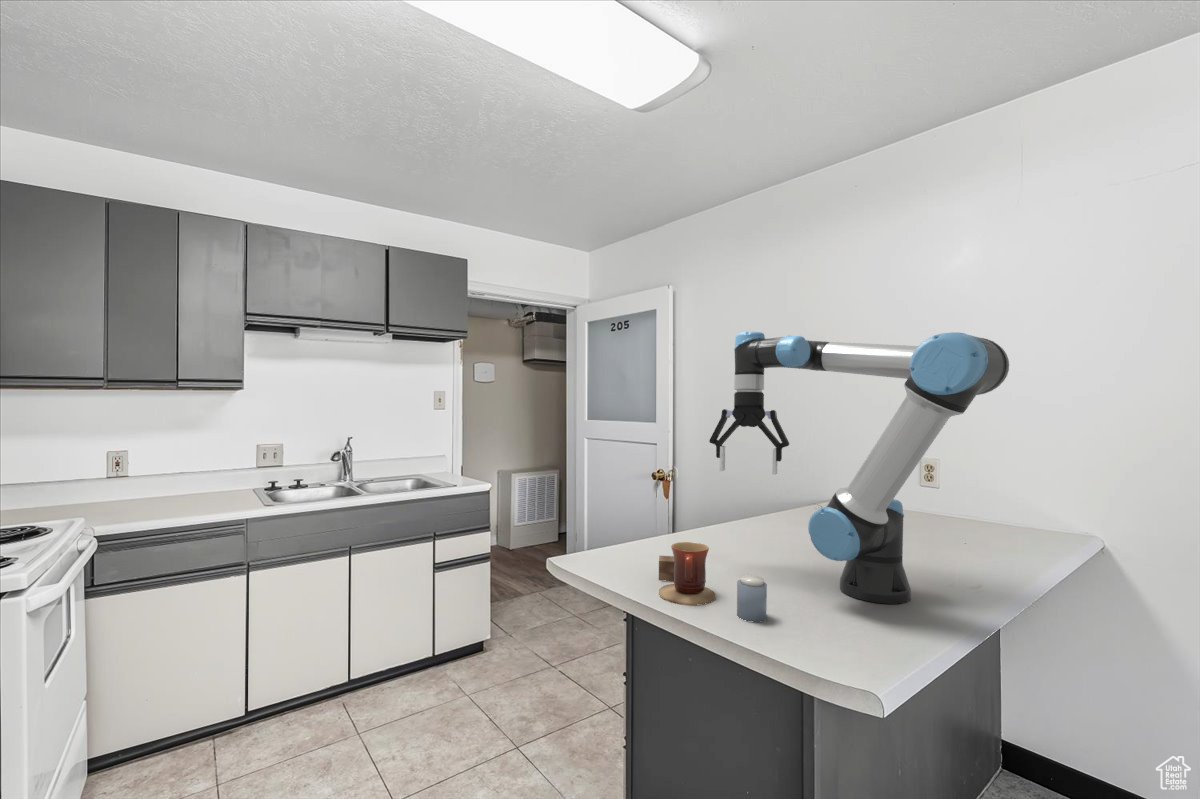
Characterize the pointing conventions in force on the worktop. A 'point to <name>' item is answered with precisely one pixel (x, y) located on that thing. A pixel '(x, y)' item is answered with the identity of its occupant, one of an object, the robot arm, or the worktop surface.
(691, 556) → the mug
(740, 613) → the jar
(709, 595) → the trivet
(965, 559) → the worktop surface
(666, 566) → the block
